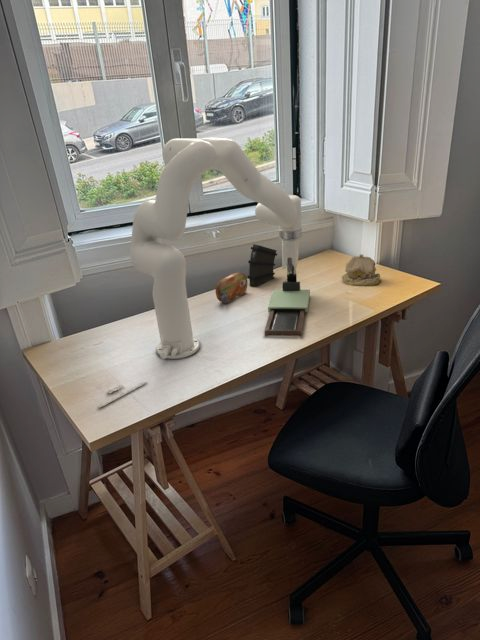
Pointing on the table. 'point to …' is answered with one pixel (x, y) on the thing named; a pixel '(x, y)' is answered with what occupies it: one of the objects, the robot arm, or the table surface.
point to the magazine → (261, 264)
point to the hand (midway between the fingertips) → (292, 284)
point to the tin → (231, 287)
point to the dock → (284, 332)
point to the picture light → (115, 388)
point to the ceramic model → (361, 271)
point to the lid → (289, 297)
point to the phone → (285, 321)
